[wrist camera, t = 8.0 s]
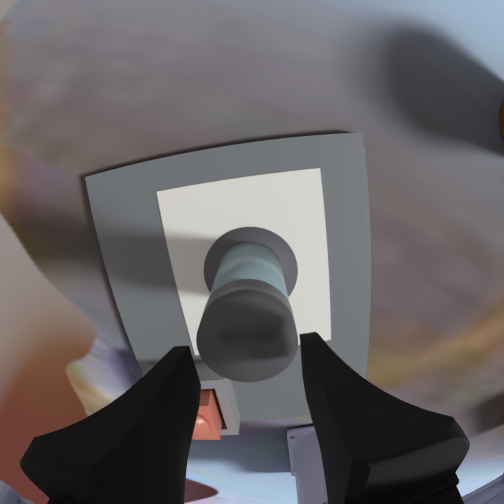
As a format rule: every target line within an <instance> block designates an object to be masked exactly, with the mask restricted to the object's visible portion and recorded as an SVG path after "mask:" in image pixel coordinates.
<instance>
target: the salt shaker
mask: <svg viewBox="0 0 504 504" xmlns="http://www.w3.org/2000/svg"><path fill="white" fill-rule="evenodd" d="M196 345H197V349H198V352H199V355H200V357H201V359H202V360H203V361H204V363H205V364H206V365H207V366H208V367H209V368H210V369H211V370H212V371H213V372H215V373H217V374H218V375H220V376H222V377H224V378H227V379H229V380H233V381H238V382H259V381H263V380H267V379H270V378H272V377H274V376H276V375H278V374H279V373H281V372H282V371H284V370H285V369H286V368H287V367H288V366H289V365H290V363H291V362H292V361H293V359H294V357H295V355H296V352H297V348H298V335H297V330H296V325H295V321H294V316H293V312H292V308H291V305H290V303H289V299H288V294H287V289H286V285H285V280H284V276H283V271H282V267H281V263H280V260H279V258H278V256H277V255H276V254H275V252H274V251H273V250H271V249H270V248H269V247H267V246H266V245H263V244H261V243H257V242H243V243H239V244H237V245H235V246H233V247H231V248H230V249H229V250H228V251H227V252H226V253H225V254H224V255H223V257H222V259H221V261H220V264H219V267H218V271H217V274H216V277H215V280H214V283H213V287H212V290H211V293H210V296H209V299H208V301H207V303H206V305H205V309H204V312H203V315H202V318H201V321H200V325H199V328H198V331H197V336H196Z"/></svg>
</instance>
